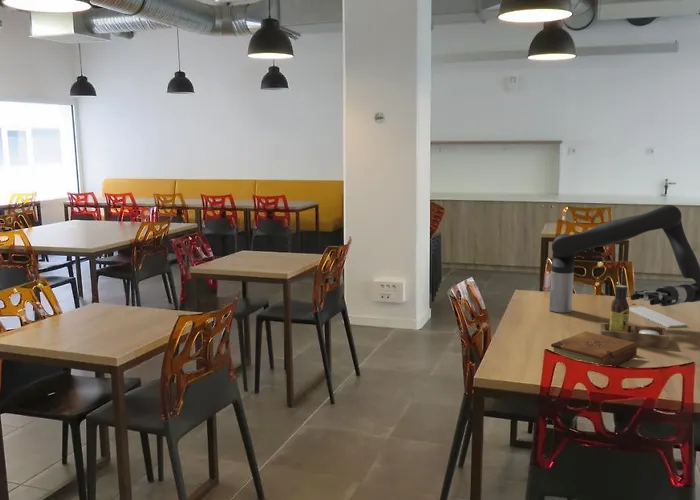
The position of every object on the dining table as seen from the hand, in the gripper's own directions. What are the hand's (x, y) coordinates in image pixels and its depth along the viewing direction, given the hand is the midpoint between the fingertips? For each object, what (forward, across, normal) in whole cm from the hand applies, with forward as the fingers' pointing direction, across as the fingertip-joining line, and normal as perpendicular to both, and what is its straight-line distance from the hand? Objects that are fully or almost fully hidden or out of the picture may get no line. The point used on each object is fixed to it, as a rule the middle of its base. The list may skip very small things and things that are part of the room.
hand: (641, 299), depth 244 cm
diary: (+34, +10, +15) cm, 38 cm away
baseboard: (-29, -17, +15) cm, 37 cm away
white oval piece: (+4, +8, +14) cm, 16 cm away
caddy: (+7, +4, +14) cm, 17 cm away
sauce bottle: (+11, 0, +14) cm, 18 cm away
